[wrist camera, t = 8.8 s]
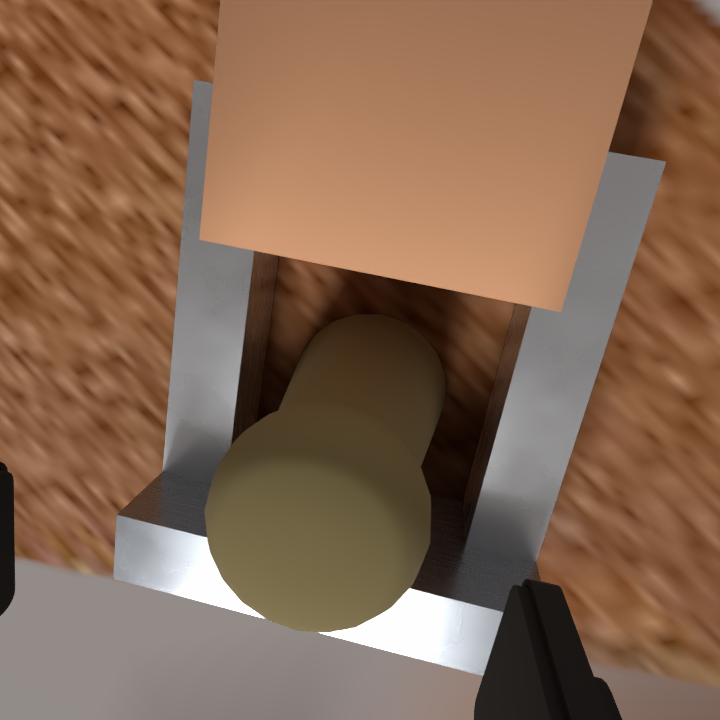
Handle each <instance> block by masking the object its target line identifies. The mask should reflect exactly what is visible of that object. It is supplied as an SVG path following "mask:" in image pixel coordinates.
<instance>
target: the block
mask: <svg viewBox="0 0 720 720" xmlns="http://www.w3.org/2000/svg"><path fill="white" fill-rule="evenodd" d="M652 2H653V0H221V2H220V13H219V24H218V36H217V47H216V58H215V69H214V80H213V91H212V103H211V114H210V125H209V136H208V147H207V158H206V170H205V181H204V192H203V203H202V214H201V225H200V236H199V240H203V241H208V242H213V243H218V244H223V245H228V246H233V247H238V248H243V249H248V250H253V251H258V252H263V253H268V254H273V255H278V256H283V257H288V258H293V259H298V260H303V261H308V262H313V263H318V264H323V265H328V266H333V267H338V268H343V269H348V270H353V271H358V272H363V273H368V274H373V275H378V276H383V277H388V278H393V279H398V280H403V281H408V282H413V283H418V284H423V285H428V286H433V287H438V288H443V289H448V290H453V291H458V292H463V293H468V294H473V295H478V296H483V297H488V298H493V299H498V300H503V301H508V302H513V303H518V304H523V305H528V306H533V307H538V308H543V309H548V310H553V311H557V312H561V311H562V307H563V304H564V301H565V297H566V294H567V290H568V287H569V284H570V280H571V277H572V273H573V270H574V267H575V263H576V260H577V256H578V253H579V250H580V246H581V243H582V239H583V236H584V233H585V229H586V226H587V222H588V219H589V216H590V212H591V209H592V205H593V202H594V199H595V195H596V192H597V188H598V185H599V182H600V178H601V175H602V171H603V168H604V165H605V161H606V158H607V154H608V151H609V148H610V144H611V141H612V137H613V134H614V131H615V127H616V124H617V120H618V117H619V114H620V110H621V107H622V103H623V100H624V97H625V93H626V90H627V87H628V83H629V80H630V76H631V73H632V70H633V66H634V63H635V59H636V56H637V53H638V49H639V46H640V42H641V39H642V36H643V32H644V29H645V25H646V22H647V19H648V15H649V12H650V8H651V5H652Z"/></svg>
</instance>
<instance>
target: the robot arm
mask: <svg viewBox="0 0 720 720" xmlns="http://www.w3.org/2000/svg"><path fill="white" fill-rule="evenodd" d="M14 593H15V552H14V480H13V476H12V474H11V473H9V472H8V470H7V467H6V466H5V464H4V463H2V462H0V616H1V614H3V613H4V612H5V610H6V609H7V608H8V606H9V605H10V603H11V601H12V599H13V596H14ZM474 720H622V718H621V716H620V713H619V711H618V708H617V705H616V703H615V700H614V698H613V695H612V693H611V691H610V689H609V687H608V685H607V683H606V682H605V681H604V680H603V679H601V678H597V677H594V676H593V673H592V670H591V667H590V665H589V662H588V659H587V657H586V654H585V651H584V648H583V646H582V643H581V640H580V638H579V635H578V632H577V629H576V627H575V624H574V621H573V619H572V616H571V613H570V610H569V608H568V605H567V602H566V600H565V597H564V594H563V591H562V589H561V588H560V587H559V586H558V585H554V584H549V583H545V582H540V581H536V580H531V579H525V580H524V582H523V584H522V586H519V585H513V586H512V588H511V590H510V593H509V596H508V599H507V602H506V605H505V609H504V612H503V615H502V618H501V621H500V624H499V628H498V631H497V634H496V637H495V640H494V643H493V647H492V650H491V653H490V656H489V659H488V662H487V666H486V669H485V672H484V675H483V678H482V681H481V685H480V688H479V692H478V694H477V698H476V702H475V710H474Z"/></svg>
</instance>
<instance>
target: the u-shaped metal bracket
mask: <svg viewBox="0 0 720 720" xmlns="http://www.w3.org/2000/svg"><path fill="white" fill-rule="evenodd" d="M212 91H213V83H208V82H203V81H197V80H194V86H193V99H192V111H191V124H190V136H189V149H188V161H187V174H186V186H185V199H184V211H183V224H182V236H181V249H180V261H179V274H178V286H177V299H176V311H175V324H174V336H173V349H172V361H171V374H170V386H169V399H168V411H167V424H166V436H165V449H164V461H163V472H162V473H161V474H160V475H159V476H158V477H157V478H155V479H154V480H153V481H152V482H151V483H150V484H149V485H148V486H147V487H146V488H145V489H144V490H143V491H142V492H141V493H140V494H138V495H137V496H136V497H135V498H134V499H133V500H132V501H131V502H130V503H129V504H128V505H127V506H126V507H125V508H124V509H123V510H121V511H120V512H119V513H118V514H117V521H116V539H115V558H114V577H113V579H117V580H121V581H124V582H128V583H132V584H136V585H140V586H143V587H147V588H151V589H155V590H159V591H162V592H166V593H170V594H174V595H178V596H181V597H185V598H189V599H193V600H197V601H200V602H204V603H208V604H212V605H216V606H220V607H223V608H227V609H231V610H235V611H239V612H242V613H246V614H250V615H254V616H257V617H261V618H264V617H263V616H261V615H260V614H258V613H257V612H255V611H254V610H252V609H251V608H249V607H248V606H247V605H245V604H244V603H242V602H241V601H240V600H239V598H238V597H237V596H236V595H235V594H234V592H233V591H232V590H231V589H230V588H229V587H228V585H227V584H226V583H225V582H224V581H223V580H222V577H221V575H220V573H219V571H218V569H217V566H216V564H215V562H214V560H213V557H212V555H211V553H210V549H209V545H208V540H207V531H206V521H205V512H204V511H205V507H206V503H207V498H208V494H209V490H210V486H211V482H212V479H213V476H214V473H215V470H216V467H217V466H218V464H219V463H220V461H221V460H222V459H223V457H224V456H225V454H226V453H227V451H228V450H229V448H230V447H231V445H232V444H233V443H234V441H235V440H236V439H237V438H238V437H239V436H240V435H241V434H242V433H243V432H244V431H246V430H247V429H248V428H250V427H251V426H253V425H254V424H255V423H257V417H258V410H259V402H260V395H261V387H262V380H263V372H264V365H265V357H266V350H267V342H268V335H269V327H270V320H271V312H272V305H273V297H274V290H275V282H276V275H277V267H278V260H279V256H278V255H273V254H268V253H263V252H258V251H253V250H248V249H243V248H238V247H233V246H228V245H223V244H218V243H213V242H208V241H203V240H199V236H200V225H201V214H202V203H203V192H204V181H205V170H206V158H207V147H208V136H209V125H210V114H211V103H212ZM665 164H666V162H665V161H659V160H653V159H648V158H642V157H636V156H630V155H624V154H619V153H613V152H608V154H607V158H606V161H605V165H604V168H603V171H602V175H601V178H600V182H599V185H598V188H597V192H596V195H595V199H594V202H593V205H592V209H591V212H590V216H589V219H588V222H587V226H586V229H585V233H584V236H583V239H582V243H581V246H580V250H579V253H578V256H577V260H576V263H575V267H574V270H573V273H572V277H571V280H570V284H569V287H568V290H567V294H566V297H565V301H564V304H563V307H562V311H561V312H557V311H553V310H548V309H543V308H538V307H533V306H528V305H523V304H518V303H516V304H515V308H514V311H513V315H512V319H511V323H510V326H509V330H508V334H507V338H506V341H505V345H504V349H503V352H502V356H501V360H500V364H499V367H498V371H497V375H496V379H495V382H494V386H493V390H492V394H491V397H490V401H489V405H488V409H487V412H486V416H485V420H484V423H483V427H482V431H481V435H480V438H479V442H478V446H477V450H476V453H475V457H474V461H473V465H472V468H471V472H470V476H469V479H468V483H467V487H466V491H465V494H464V498H463V502H461V501H457V500H453V499H449V498H444V497H440V496H436V495H432V494H430V496H431V534H430V545H429V548H428V550H427V553H426V555H425V558H424V560H423V562H422V565H421V567H420V570H419V572H418V574H417V576H416V579H415V581H414V583H413V585H412V586H411V587H410V588H409V589H408V590H407V592H406V593H405V594H404V595H403V596H402V597H401V598H400V599H399V600H398V601H397V602H396V603H395V604H394V606H393V607H392V608H390V609H389V610H387V611H385V612H384V613H382V614H381V615H379V616H377V617H375V618H373V619H371V620H369V621H367V622H365V623H363V624H362V625H360V626H358V627H356V628H351V629H346V630H340V631H335V632H329V633H322V634H326V635H330V636H333V637H337V638H341V639H345V640H349V641H352V642H356V643H360V644H364V645H368V646H372V647H375V648H379V649H383V650H387V651H391V652H394V653H398V654H402V655H406V656H409V657H413V658H417V659H421V660H425V661H429V662H433V663H436V664H440V665H444V666H447V667H451V668H455V669H459V670H463V671H467V672H471V673H474V674H478V675H482V676H483V675H484V672H485V669H486V666H487V662H488V659H489V656H490V653H491V650H492V647H493V643H494V640H495V637H496V634H497V631H498V628H499V624H500V621H501V618H502V615H503V612H504V609H505V605H506V602H507V599H508V596H509V593H510V590H511V588H512V586H513V585H519V586H522V584H523V582H524V580H525V579H531V580H536V581H540V582H541V579H540V576H539V572H538V568H537V564H536V560H537V557H538V554H539V551H540V548H541V545H542V542H543V539H544V536H545V533H546V530H547V527H548V523H549V520H550V517H551V514H552V511H553V508H554V505H555V502H556V499H557V496H558V493H559V490H560V487H561V484H562V480H563V477H564V474H565V471H566V468H567V465H568V462H569V459H570V456H571V453H572V450H573V447H574V444H575V441H576V437H577V434H578V431H579V428H580V425H581V422H582V419H583V416H584V413H585V410H586V407H587V404H588V401H589V398H590V394H591V391H592V388H593V385H594V382H595V379H596V376H597V373H598V370H599V367H600V364H601V361H602V358H603V355H604V351H605V348H606V345H607V342H608V339H609V336H610V333H611V330H612V327H613V324H614V321H615V318H616V315H617V312H618V308H619V305H620V302H621V299H622V296H623V293H624V290H625V287H626V284H627V281H628V278H629V275H630V272H631V269H632V265H633V262H634V259H635V256H636V253H637V250H638V247H639V244H640V241H641V238H642V235H643V232H644V229H645V226H646V222H647V219H648V216H649V213H650V210H651V207H652V204H653V201H654V198H655V195H656V192H657V189H658V186H659V182H660V179H661V176H662V173H663V170H664V167H665ZM319 633H320V632H319Z"/></svg>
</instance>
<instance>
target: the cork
mask: <svg viewBox="0 0 720 720" xmlns="http://www.w3.org/2000/svg"><path fill="white" fill-rule="evenodd" d="M445 398H446V377H445V374H444V371H443V368H442V365H441V361H440V358H439V356H438V354H437V353H436V352H435V350H434V349H433V347H432V346H431V345H430V343H429V342H428V341H427V339H426V338H425V337H424V336H423V335H422V334H420V333H419V332H418V331H416V330H415V329H413V328H412V327H411V326H409V325H408V324H407V323H405V322H403V321H400V320H397V319H394V318H391V317H388V316H385V315H382V314H355V315H352V316H348V317H345V318H342V319H339V320H336V321H333V322H332V323H330V324H329V325H328V326H326V327H325V328H324V329H322V330H321V331H320V332H318V333H317V334H315V335H314V337H313V338H312V340H311V341H310V343H309V344H308V346H307V347H306V348H305V350H304V351H303V353H302V355H301V357H300V359H299V362H298V364H297V367H296V369H295V371H294V374H293V376H292V379H291V381H290V383H289V386H288V388H287V390H286V393H285V395H284V398H283V400H282V402H281V405H280V407H279V410H278V411H276V412H273V413H270V414H268V415H267V416H265V417H264V418H263V419H261V420H260V421H258V422H257V423H255V424H254V425H253V426H251V427H250V428H248V429H247V430H246V431H244V432H243V433H242V434H241V435H240V436H239V437H238V438H237V439H236V440H235V441H234V443H233V444H232V445H231V447H230V448H229V450H228V451H227V453H226V454H225V456H224V457H223V459H222V460H221V461H220V463H219V464H218V466H217V467H216V470H215V473H214V476H213V479H212V482H211V486H210V490H209V494H208V498H207V503H206V507H205V511H204V512H205V521H206V531H207V540H208V545H209V549H210V553H211V555H212V557H213V560H214V562H215V564H216V566H217V569H218V571H219V573H220V575H221V577H222V580H223V581H224V582H225V583H226V584H227V585H228V587H229V588H230V589H231V590H232V591H233V592H234V594H235V595H236V596H237V597H238V598H239V600H240V601H241V602H242V603H244V604H245V605H247V606H248V607H249V608H251V609H252V610H254V611H255V612H257V613H258V614H260V615H261V616H263V617H264V618H265V619H267V620H270V621H272V622H275V623H278V624H280V625H283V626H286V627H289V628H291V629H294V630H299V631H310V632H320V633H329V632H335V631H340V630H346V629H351V628H356V627H358V626H360V625H362V624H363V623H365V622H367V621H369V620H371V619H373V618H375V617H377V616H379V615H381V614H382V613H384V612H385V611H387V610H389V609H390V608H392V607H393V606H394V604H395V603H396V602H397V601H398V600H399V599H400V598H401V597H402V596H403V595H404V594H405V593H406V592H407V590H408V589H409V588H410V587H411V586H412V585H413V583H414V581H415V579H416V576H417V574H418V572H419V570H420V567H421V565H422V562H423V560H424V558H425V555H426V553H427V550H428V548H429V545H430V534H431V496H430V493H429V490H428V487H427V484H426V481H425V478H424V475H423V472H422V469H421V465H422V462H423V460H424V457H425V455H426V452H427V449H428V447H429V444H430V441H431V439H432V436H433V433H434V431H435V428H436V425H437V423H438V420H439V417H440V415H441V412H442V410H443V407H444V404H445Z"/></svg>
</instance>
